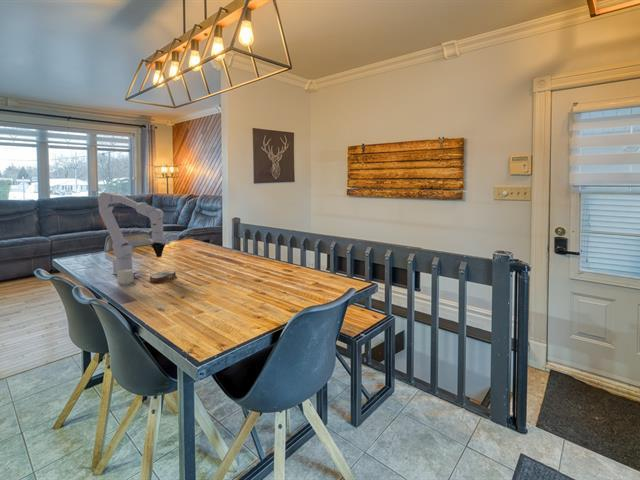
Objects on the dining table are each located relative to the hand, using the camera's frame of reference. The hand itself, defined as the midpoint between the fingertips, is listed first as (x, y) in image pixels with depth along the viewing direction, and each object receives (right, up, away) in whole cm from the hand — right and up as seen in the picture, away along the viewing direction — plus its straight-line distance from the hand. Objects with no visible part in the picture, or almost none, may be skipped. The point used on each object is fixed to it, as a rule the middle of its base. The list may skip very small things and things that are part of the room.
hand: (159, 256), depth 192 cm
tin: (+2, -9, -8) cm, 12 cm away
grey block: (-10, -12, -15) cm, 21 cm away
